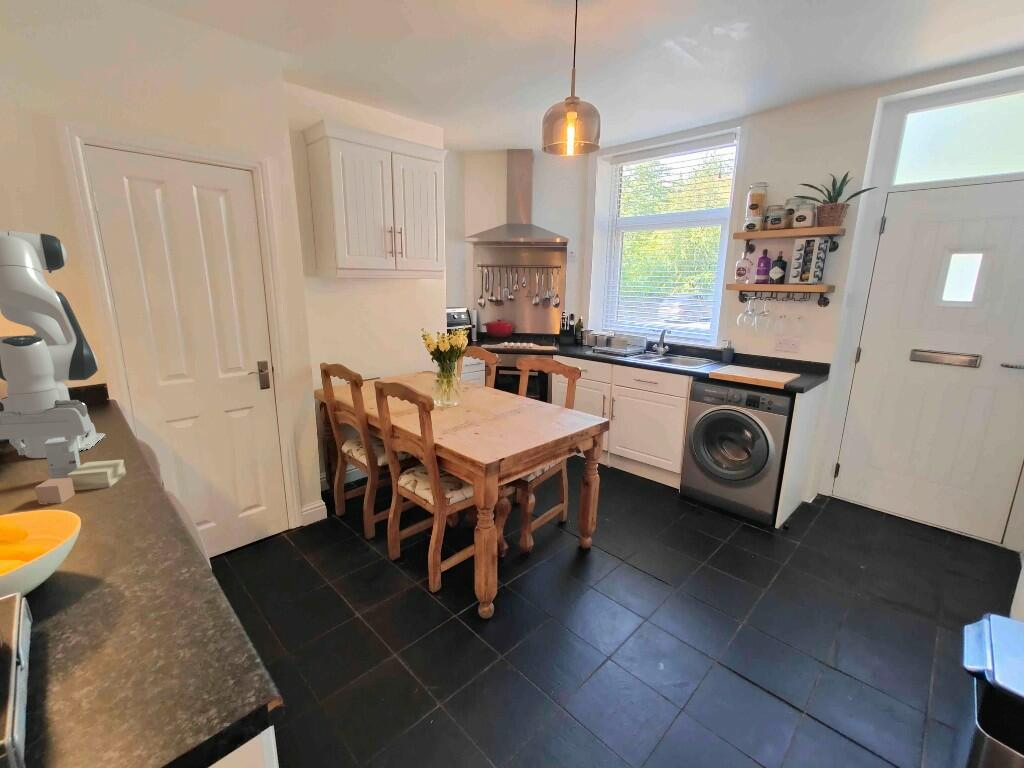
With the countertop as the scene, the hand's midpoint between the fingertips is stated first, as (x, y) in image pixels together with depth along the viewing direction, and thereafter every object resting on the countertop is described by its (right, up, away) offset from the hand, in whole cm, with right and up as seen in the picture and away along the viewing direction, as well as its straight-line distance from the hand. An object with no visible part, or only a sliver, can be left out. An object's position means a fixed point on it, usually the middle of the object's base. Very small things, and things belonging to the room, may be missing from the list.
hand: (47, 453), depth 116 cm
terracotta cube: (-1, -13, +3) cm, 13 cm away
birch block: (+1, -11, +14) cm, 17 cm away
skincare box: (-10, -10, +15) cm, 21 cm away
